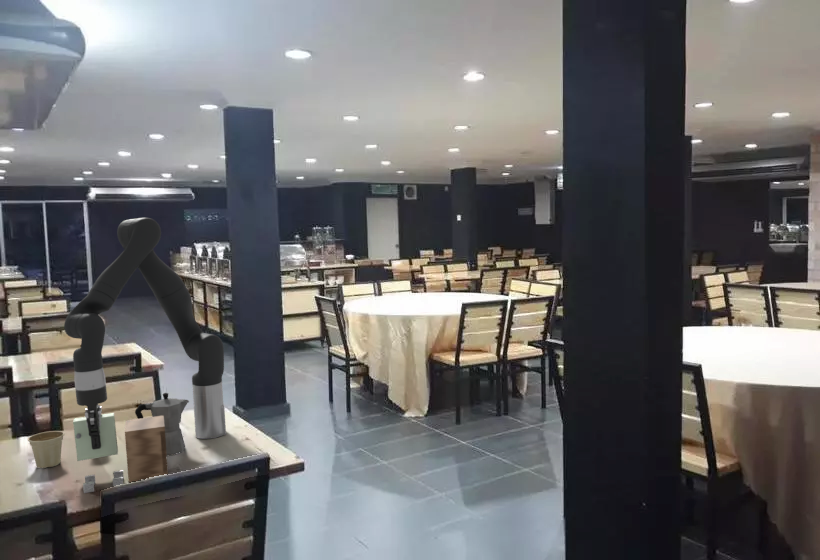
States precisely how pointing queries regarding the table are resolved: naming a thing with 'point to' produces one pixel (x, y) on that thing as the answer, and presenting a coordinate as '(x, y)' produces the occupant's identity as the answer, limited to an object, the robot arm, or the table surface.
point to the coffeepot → (168, 420)
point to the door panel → (106, 438)
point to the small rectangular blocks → (90, 482)
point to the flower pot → (47, 448)
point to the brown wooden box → (145, 448)
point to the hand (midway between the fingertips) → (97, 446)
